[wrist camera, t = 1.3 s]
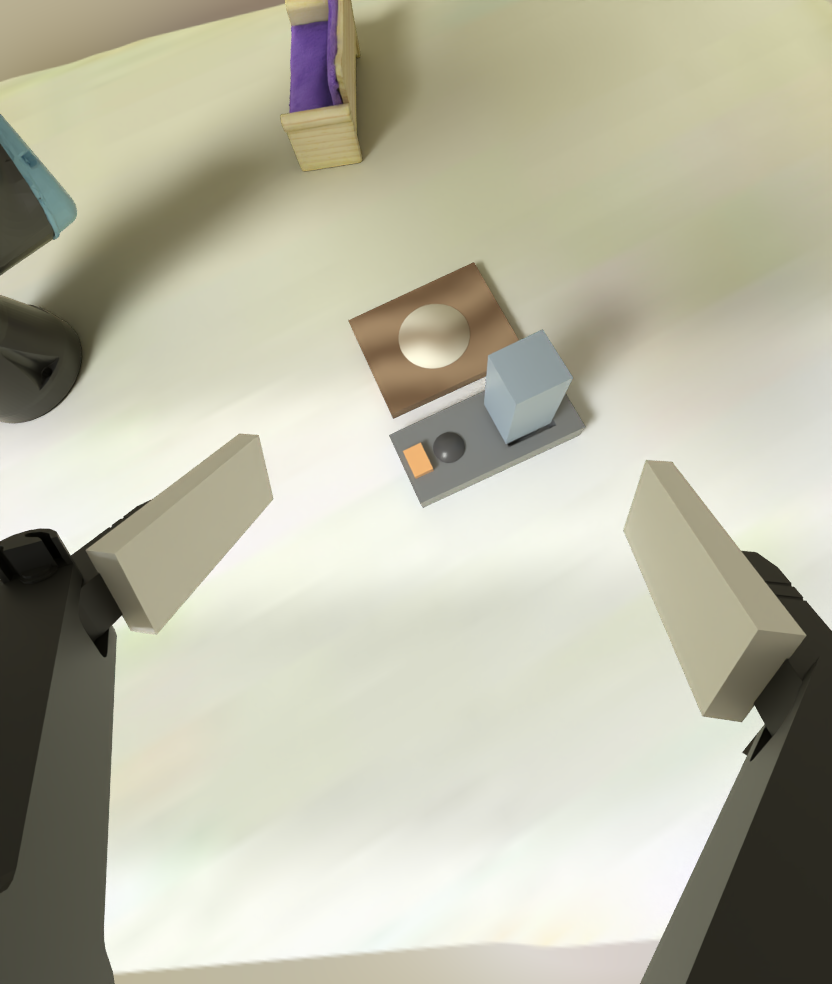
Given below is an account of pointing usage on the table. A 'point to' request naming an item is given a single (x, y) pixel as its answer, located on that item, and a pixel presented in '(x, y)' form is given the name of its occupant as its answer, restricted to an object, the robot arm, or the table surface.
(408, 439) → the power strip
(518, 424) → the brick
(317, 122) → the toy sofa
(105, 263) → the table surface
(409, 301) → the walnut pad
